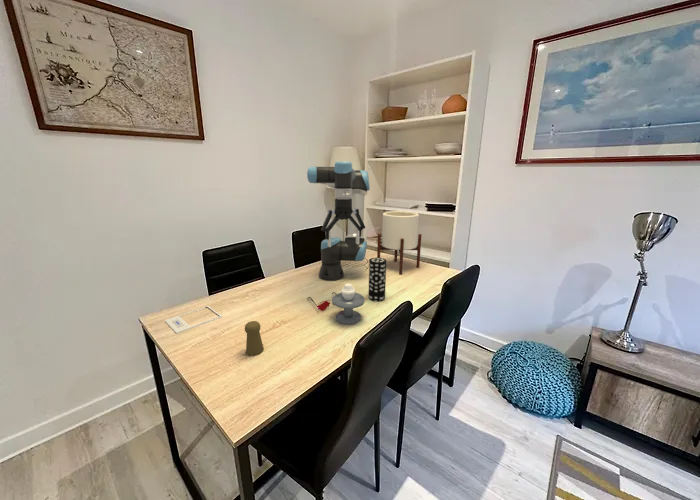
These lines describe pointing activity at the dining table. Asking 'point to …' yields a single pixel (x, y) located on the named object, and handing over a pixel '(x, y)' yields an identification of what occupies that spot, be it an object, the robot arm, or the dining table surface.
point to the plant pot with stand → (400, 234)
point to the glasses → (323, 305)
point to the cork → (253, 339)
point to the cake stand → (348, 308)
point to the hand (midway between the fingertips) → (343, 245)
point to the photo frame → (181, 325)
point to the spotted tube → (377, 279)
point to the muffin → (348, 292)
